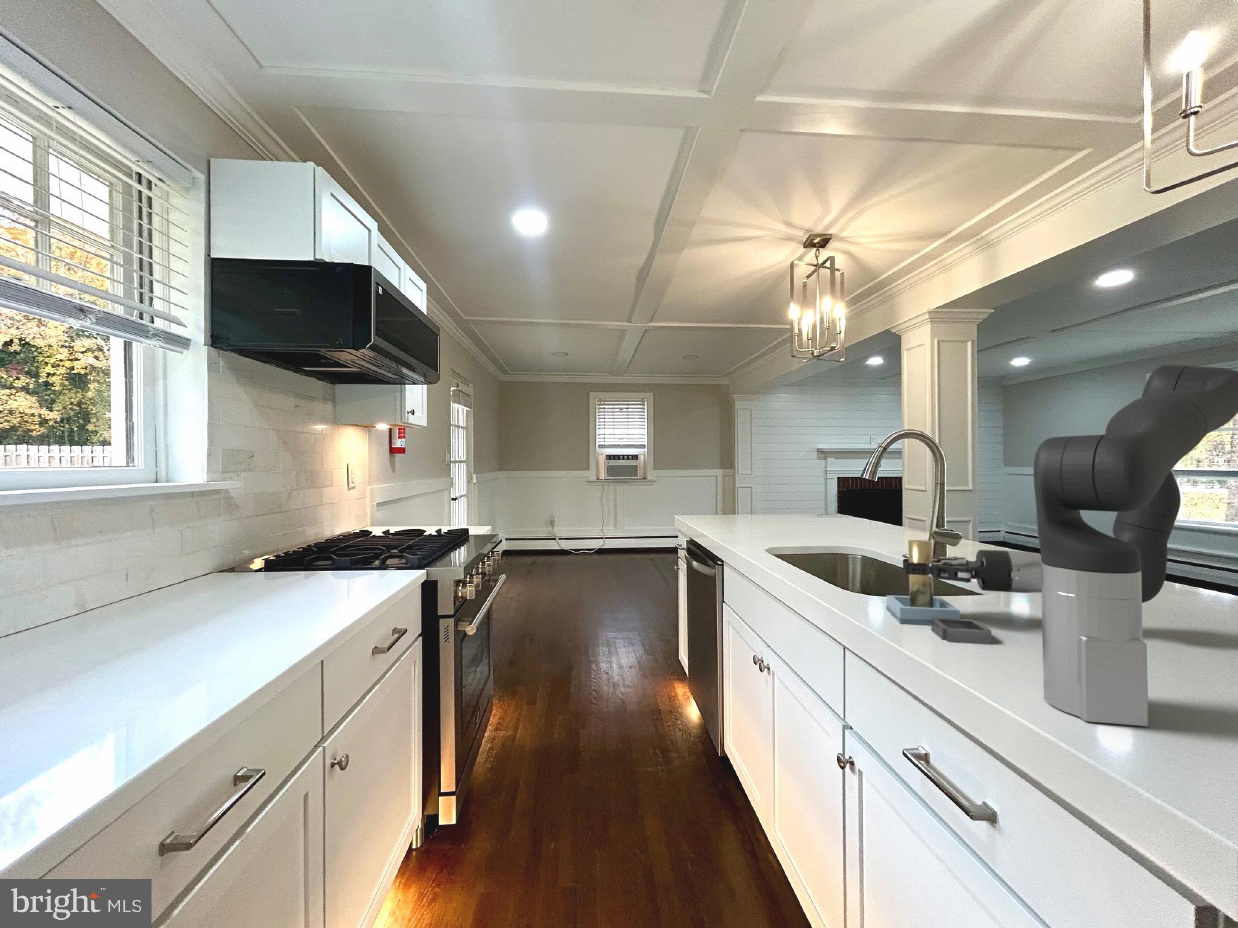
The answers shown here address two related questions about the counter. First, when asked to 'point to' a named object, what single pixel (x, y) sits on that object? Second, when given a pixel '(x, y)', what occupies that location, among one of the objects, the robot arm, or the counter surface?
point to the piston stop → (920, 583)
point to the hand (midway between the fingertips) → (904, 566)
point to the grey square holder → (961, 630)
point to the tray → (920, 610)
